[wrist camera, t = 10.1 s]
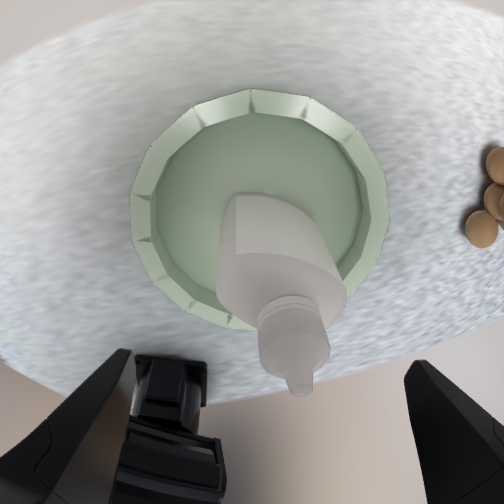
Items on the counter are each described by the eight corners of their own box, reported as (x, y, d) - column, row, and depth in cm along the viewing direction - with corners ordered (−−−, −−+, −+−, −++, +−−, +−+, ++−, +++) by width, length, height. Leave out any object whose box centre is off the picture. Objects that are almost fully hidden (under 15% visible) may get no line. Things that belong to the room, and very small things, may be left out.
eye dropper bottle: (267, 164, 18) (310, 303, 8) (324, 231, 20) (395, 389, 10) (210, 212, 19) (184, 380, 9) (270, 271, 21) (295, 439, 11)
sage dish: (343, 312, 24) (351, 333, 22) (146, 298, 23) (139, 319, 21) (395, 115, 17) (413, 120, 15) (144, 84, 16) (131, 84, 14)
